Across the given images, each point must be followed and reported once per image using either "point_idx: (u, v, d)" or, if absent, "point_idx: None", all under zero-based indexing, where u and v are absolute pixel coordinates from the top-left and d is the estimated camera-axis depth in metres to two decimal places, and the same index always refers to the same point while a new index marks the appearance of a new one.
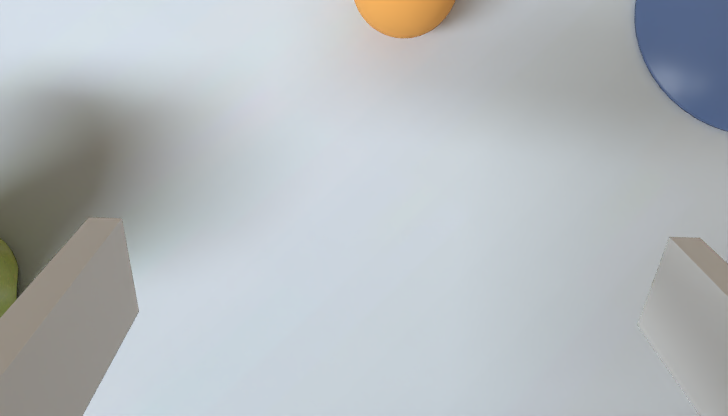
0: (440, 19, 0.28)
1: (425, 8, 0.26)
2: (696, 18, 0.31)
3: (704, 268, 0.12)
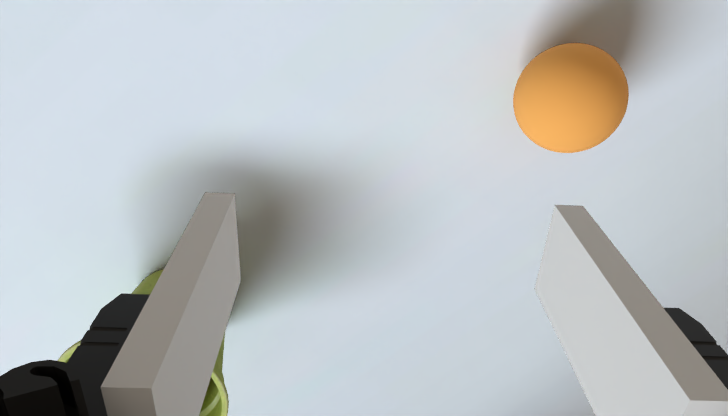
0: None
1: (586, 149, 0.28)
2: None
3: (576, 230, 0.13)
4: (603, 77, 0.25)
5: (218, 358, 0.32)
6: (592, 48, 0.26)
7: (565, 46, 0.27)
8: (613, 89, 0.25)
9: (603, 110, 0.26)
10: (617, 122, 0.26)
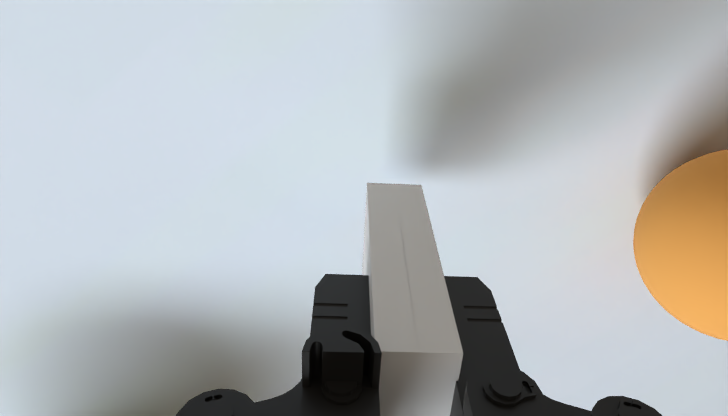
0: None
1: None
2: None
3: (401, 206, 0.14)
4: None
5: None
6: None
7: None
8: None
9: None
10: None
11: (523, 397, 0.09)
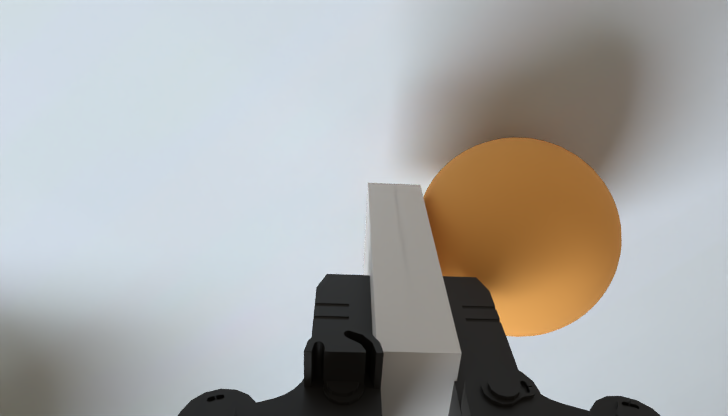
0: None
1: None
2: None
3: (399, 207, 0.14)
4: (586, 216, 0.13)
5: None
6: (555, 153, 0.14)
7: (505, 150, 0.14)
8: (604, 236, 0.13)
9: (590, 279, 0.13)
10: (608, 286, 0.14)
11: (521, 397, 0.09)
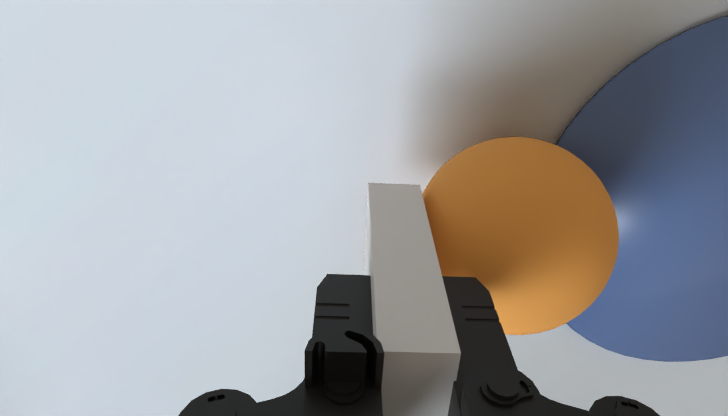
0: None
1: None
2: (641, 204, 0.18)
3: (399, 206, 0.14)
4: (607, 199, 0.14)
5: None
6: (554, 147, 0.14)
7: (517, 155, 0.14)
8: (615, 212, 0.14)
9: (617, 253, 0.14)
10: None
11: (520, 397, 0.09)
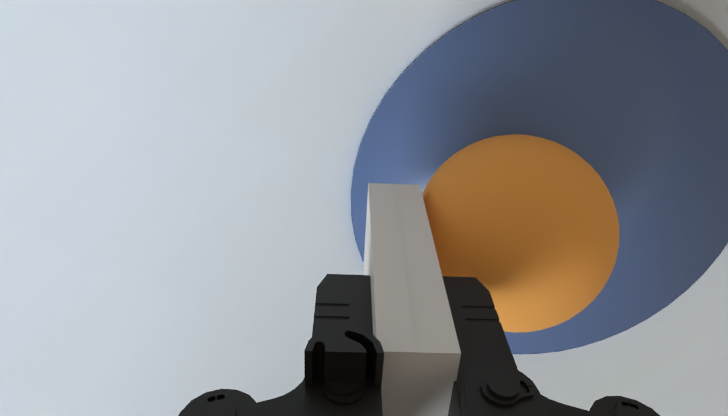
0: None
1: None
2: None
3: (399, 206, 0.14)
4: (607, 193, 0.14)
5: None
6: (552, 144, 0.14)
7: (516, 153, 0.14)
8: (614, 206, 0.14)
9: (618, 247, 0.14)
10: None
11: (521, 397, 0.09)
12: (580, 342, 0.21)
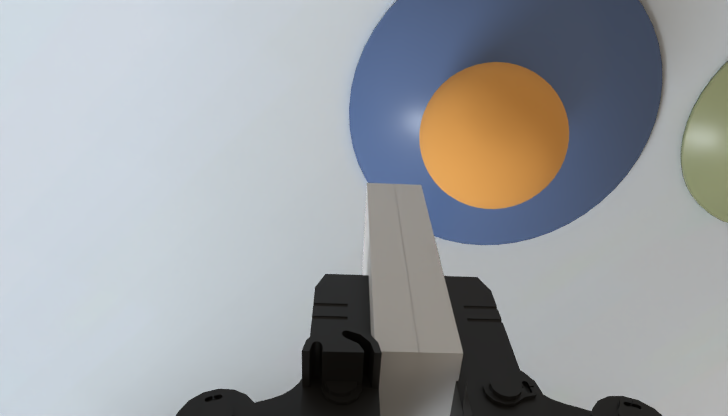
0: None
1: None
2: None
3: (401, 206, 0.14)
4: (560, 99, 0.20)
5: None
6: (520, 67, 0.19)
7: (502, 76, 0.19)
8: None
9: None
10: None
11: (523, 397, 0.09)
12: (531, 234, 0.26)
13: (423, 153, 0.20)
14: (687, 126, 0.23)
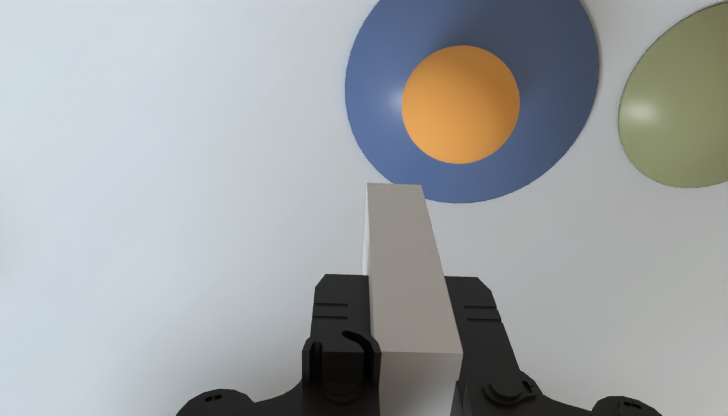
0: None
1: None
2: None
3: (401, 206, 0.14)
4: (512, 74, 0.25)
5: None
6: (480, 48, 0.25)
7: (464, 55, 0.24)
8: None
9: None
10: None
11: (523, 397, 0.09)
12: (497, 193, 0.31)
13: (404, 118, 0.26)
14: (621, 100, 0.29)
